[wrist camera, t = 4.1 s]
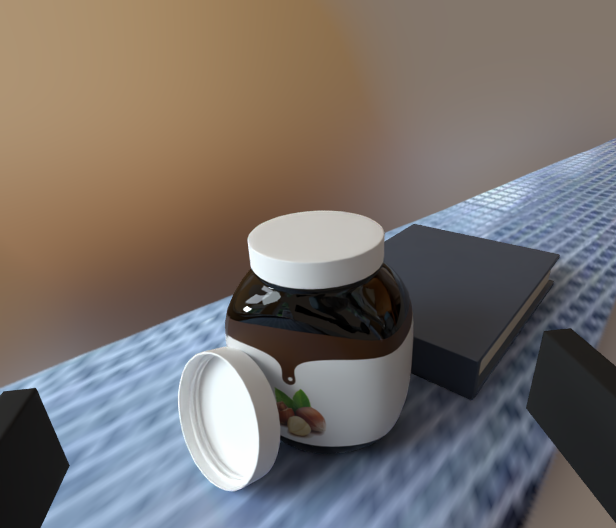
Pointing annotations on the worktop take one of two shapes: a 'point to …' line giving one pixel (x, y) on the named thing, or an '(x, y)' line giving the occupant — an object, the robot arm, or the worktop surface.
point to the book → (465, 300)
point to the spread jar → (301, 350)
